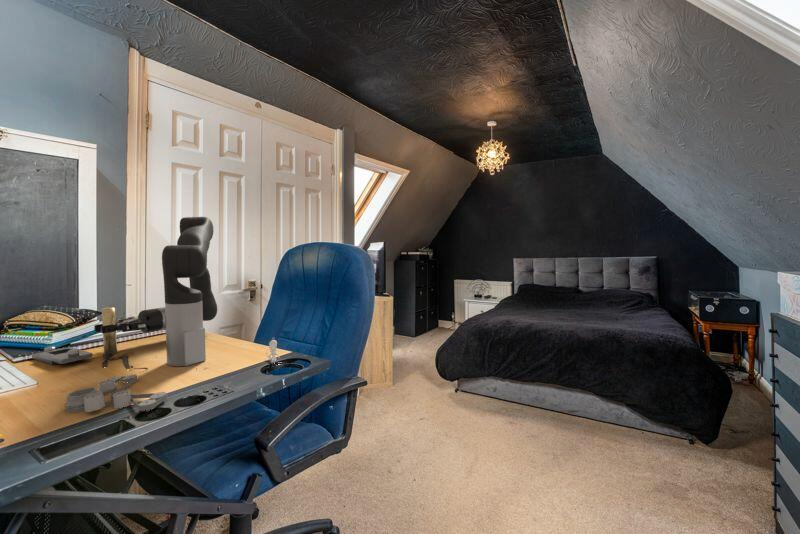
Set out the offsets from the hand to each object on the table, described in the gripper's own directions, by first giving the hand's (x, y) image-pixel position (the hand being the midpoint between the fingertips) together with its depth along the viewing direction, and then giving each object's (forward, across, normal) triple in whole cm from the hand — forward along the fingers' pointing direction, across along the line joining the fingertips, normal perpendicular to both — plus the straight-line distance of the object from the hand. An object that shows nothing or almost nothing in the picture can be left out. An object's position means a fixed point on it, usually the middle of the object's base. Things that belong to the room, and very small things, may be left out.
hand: (98, 329), depth 111 cm
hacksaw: (0, +14, +9) cm, 16 cm away
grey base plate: (+7, -5, +8) cm, 12 cm away
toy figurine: (-20, +50, +8) cm, 54 cm away
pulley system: (+15, +39, +9) cm, 43 cm away
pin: (-3, 0, +8) cm, 8 cm away
